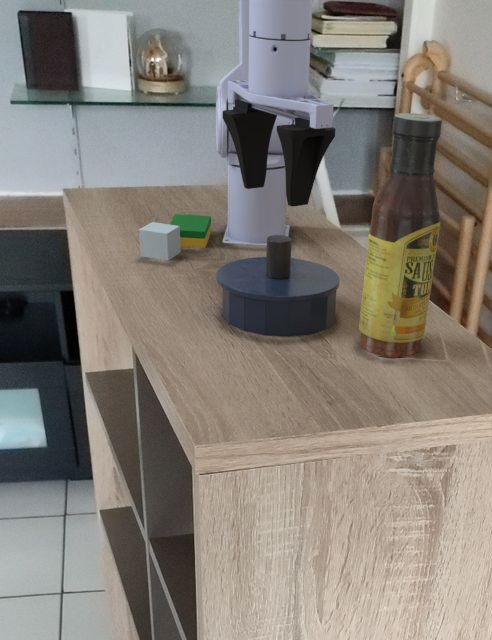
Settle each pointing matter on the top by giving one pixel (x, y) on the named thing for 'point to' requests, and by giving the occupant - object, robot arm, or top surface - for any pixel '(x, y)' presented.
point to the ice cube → (159, 241)
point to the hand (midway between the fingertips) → (275, 196)
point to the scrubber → (193, 229)
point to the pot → (279, 315)
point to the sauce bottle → (402, 242)
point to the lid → (278, 275)
